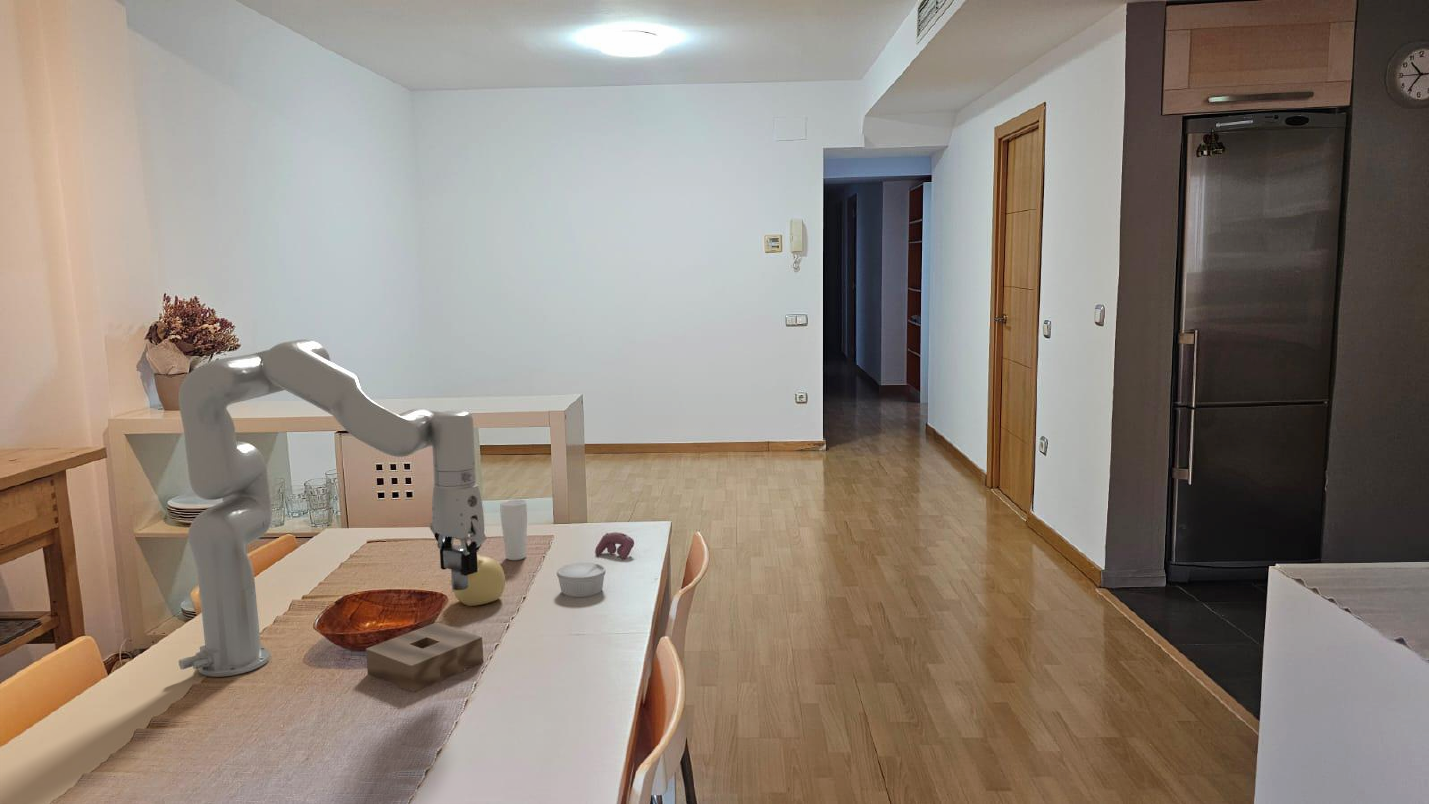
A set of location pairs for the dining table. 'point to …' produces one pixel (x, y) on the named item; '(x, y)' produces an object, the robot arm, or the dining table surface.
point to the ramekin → (581, 579)
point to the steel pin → (455, 566)
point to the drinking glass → (514, 528)
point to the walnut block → (424, 656)
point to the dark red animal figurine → (609, 543)
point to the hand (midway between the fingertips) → (459, 569)
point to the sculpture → (483, 583)
